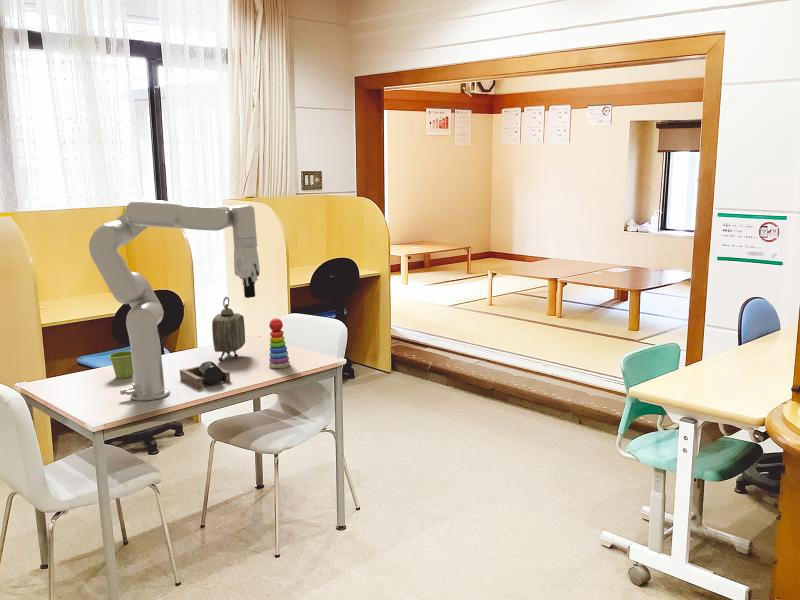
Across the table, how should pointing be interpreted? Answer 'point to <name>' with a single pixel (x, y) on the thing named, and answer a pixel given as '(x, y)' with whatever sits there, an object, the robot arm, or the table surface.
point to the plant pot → (122, 364)
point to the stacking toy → (277, 346)
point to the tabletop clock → (228, 331)
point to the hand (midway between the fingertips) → (249, 297)
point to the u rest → (195, 379)
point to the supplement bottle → (210, 373)
